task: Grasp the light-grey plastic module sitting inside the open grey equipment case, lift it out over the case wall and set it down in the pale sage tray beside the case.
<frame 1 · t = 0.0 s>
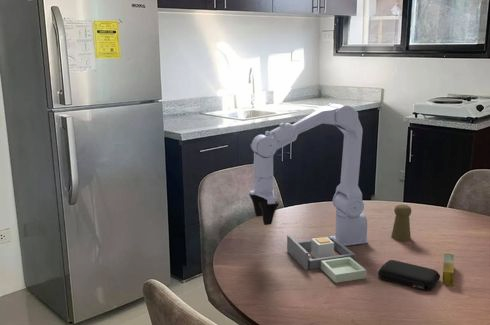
hand: (263, 220, 146), 10 cm above the table, fingers open, 7 cm apart
case: (322, 256, 144), on the table
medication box: (447, 276, 131), on the table
cork: (400, 238, 158), on the table
bay: (342, 273, 133), on the table
module: (322, 256, 144), resting in case
carrying case or bag: (407, 281, 129), on the table
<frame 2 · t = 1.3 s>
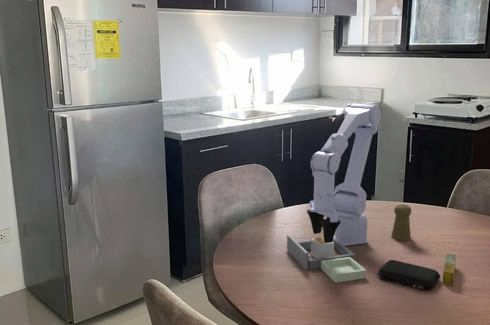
hand: (322, 237, 143), 6 cm above the table, fingers open, 7 cm apart
nothing on the table moved.
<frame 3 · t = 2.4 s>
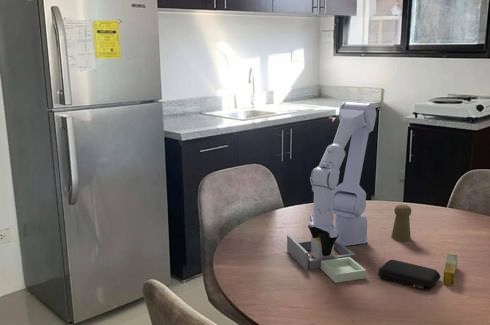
hand: (322, 251, 144), 1 cm above the table, fingers closed on module, 5 cm apart
module: (322, 256, 144), resting in case, touching gripper
everything else where it was.
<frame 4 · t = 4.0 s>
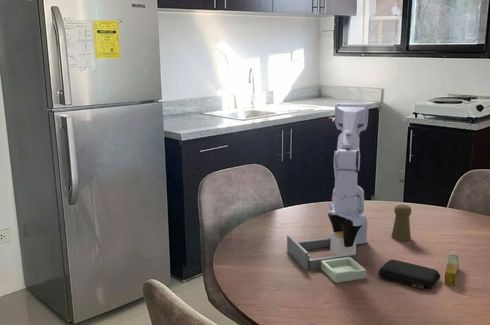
hand: (343, 242, 131), 9 cm above the table, fingers closed on module, 5 cm apart
module: (342, 252, 132), point 6 cm above the table, touching gripper
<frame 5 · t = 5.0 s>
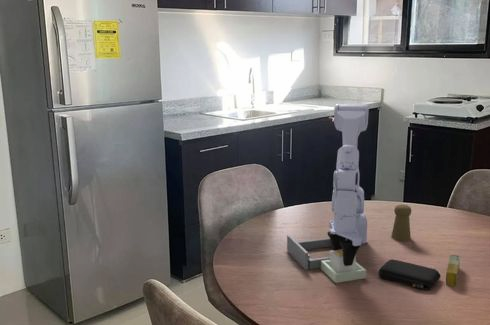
hand: (343, 260, 132), 4 cm above the table, fingers closed on module, 5 cm apart
module: (342, 270, 133), point 1 cm above the table, touching gripper
when the fingers open (3 cm above the table, at t = 5.6 s): module stays where it is, resting on bay.
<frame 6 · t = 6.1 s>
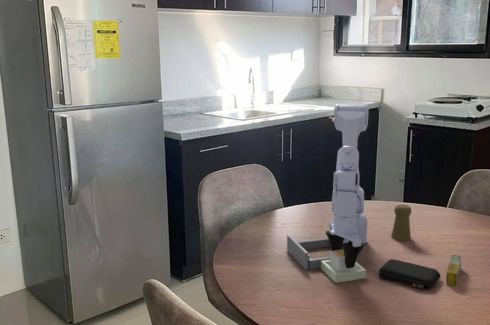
hand: (343, 261, 132), 3 cm above the table, fingers open, 7 cm apart
module: (342, 270, 133), point 1 cm above the table, touching bay
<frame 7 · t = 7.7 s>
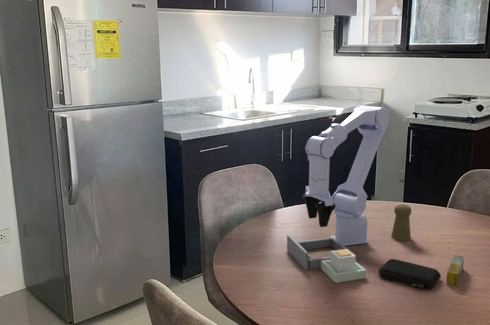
hand: (317, 222, 144), 10 cm above the table, fingers open, 7 cm apart
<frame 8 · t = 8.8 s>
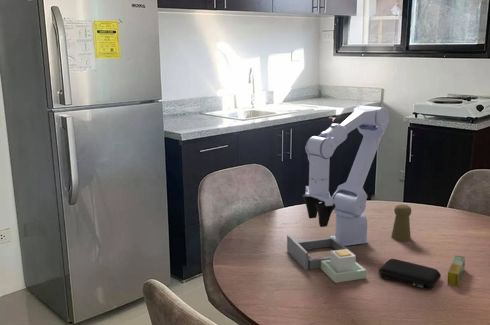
hand: (317, 222, 144), 10 cm above the table, fingers open, 7 cm apart
at the end: module inside the target area on the bay (0.2 cm from its centre), point 0.8 cm above the bay's base; module tilted 0°; the gripper is holding nothing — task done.
